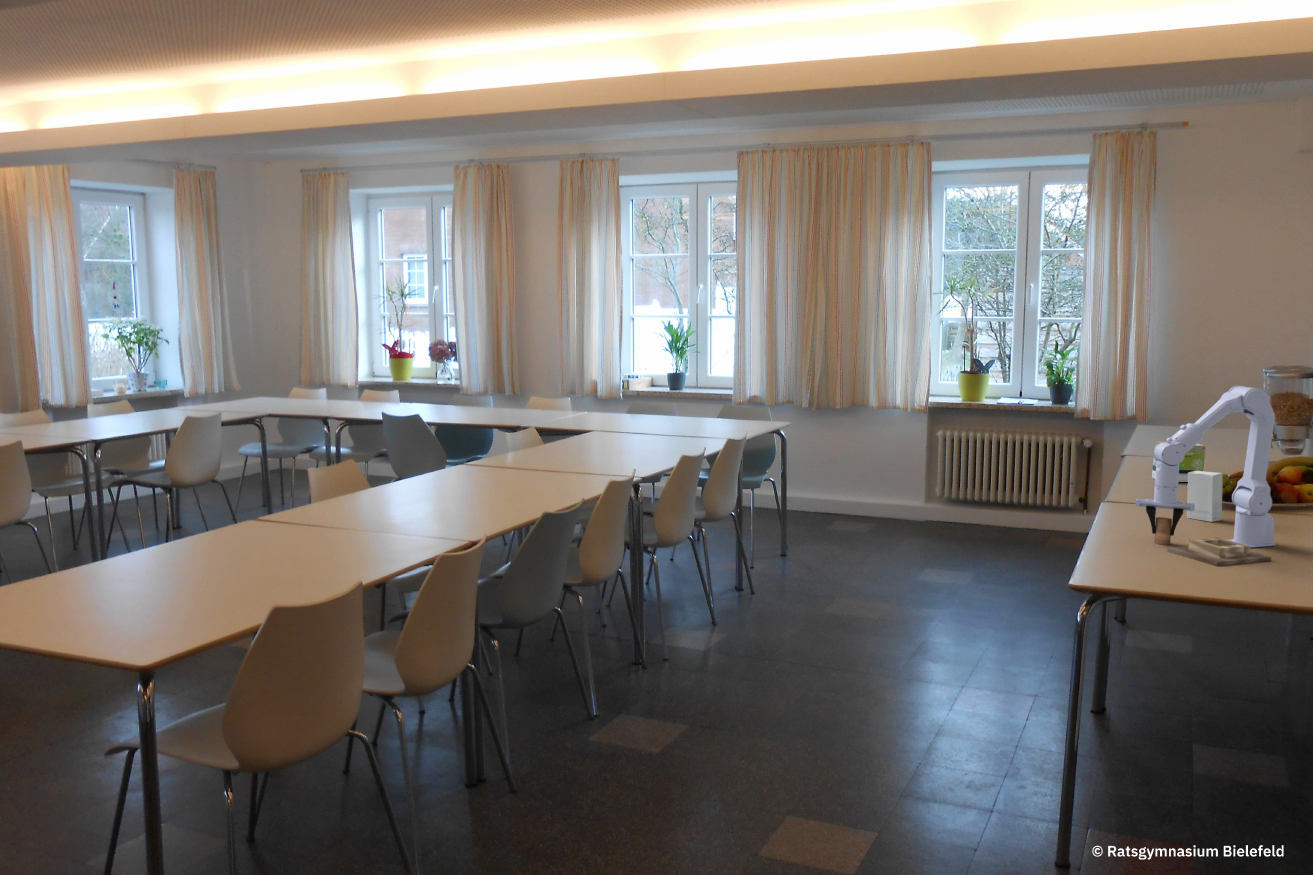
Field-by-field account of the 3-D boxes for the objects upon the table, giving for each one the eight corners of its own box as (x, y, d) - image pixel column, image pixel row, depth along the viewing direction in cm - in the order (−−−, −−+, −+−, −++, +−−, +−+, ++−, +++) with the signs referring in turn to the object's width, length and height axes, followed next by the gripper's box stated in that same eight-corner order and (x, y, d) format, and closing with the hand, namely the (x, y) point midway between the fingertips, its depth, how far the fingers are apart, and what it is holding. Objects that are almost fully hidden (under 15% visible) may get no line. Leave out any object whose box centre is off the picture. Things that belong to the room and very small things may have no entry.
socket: (1219, 546, 275) (1220, 534, 275) (1271, 560, 260) (1272, 547, 259) (1167, 551, 270) (1168, 538, 269) (1216, 565, 255) (1217, 552, 254)
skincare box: (1221, 520, 309) (1225, 473, 307) (1211, 522, 306) (1214, 474, 304) (1194, 515, 316) (1198, 469, 314) (1184, 517, 313) (1187, 471, 311)
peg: (1162, 541, 281) (1164, 516, 281) (1173, 544, 278) (1175, 519, 277) (1151, 542, 280) (1152, 517, 279) (1162, 545, 277) (1163, 520, 276)
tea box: (1160, 482, 375) (1162, 443, 373) (1151, 478, 385) (1154, 440, 383) (1203, 484, 373) (1205, 444, 371) (1193, 479, 383) (1196, 441, 381)
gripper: (1195, 485, 277) (1192, 533, 279) (1137, 481, 284) (1134, 528, 286) (1196, 489, 271) (1192, 538, 273) (1136, 485, 278) (1133, 533, 279)
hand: (1162, 533), depth 279 cm, fingers closed on peg, 4 cm apart
